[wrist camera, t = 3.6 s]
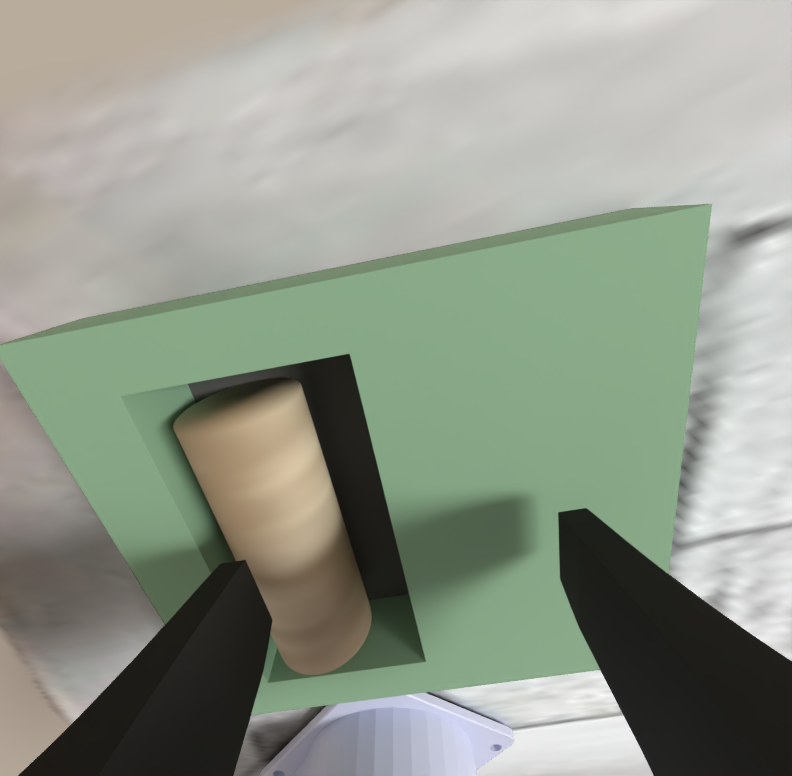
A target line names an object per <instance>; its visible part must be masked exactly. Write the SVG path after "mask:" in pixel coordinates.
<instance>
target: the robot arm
mask: <svg viewBox="0 0 792 776" xmlns="http://www.w3.org/2000/svg"><path fill="white" fill-rule="evenodd" d="M558 525H559V562H560V580H561V583H562V585H563V588H564V591H565V593H566V596H567V598H568V601H569V604H570V606H571V609H572V611H573V614H574V616H575V619H576V621H577V624H578V626H579V628H580V630H581V632H582V634H583V636H584V638H585V640H586V642H587V644H588V646H589V648H590V650H591V652H592V654H593V656H594V658H595V660H596V662H597V664H598V666H599V668H600V670H601V672H602V674H603V676H604V678H605V680H606V682H607V684H608V686H609V687H610V689H611V691H612V693H613V695H614V697H615V699H616V701H617V703H618V705H619V707H620V709H621V711H622V713H623V715H624V717H625V719H626V721H627V723H628V724H629V726H630V728H631V730H632V732H633V734H634V736H635V738H636V740H637V742H638V744H639V746H640V748H641V750H642V752H643V754H644V756H645V758H646V760H647V762H648V764H649V766H650V768H651V771H652V773H653V775H654V776H792V661H790V660H789V659H787V658H786V657H784V656H783V655H781V654H780V653H778V652H777V651H775V650H774V649H772V648H771V647H769V646H768V645H766V644H765V643H763V642H762V641H760V640H759V639H757V638H756V637H754V636H753V635H752V634H750V633H749V632H747V631H746V630H744V629H743V628H742V627H740V626H739V625H737V624H736V623H734V622H733V621H732V620H730V619H729V618H727V617H726V616H725V615H723V614H722V613H720V612H719V611H717V610H716V609H715V608H713V607H712V606H711V605H709V604H708V603H706V602H705V601H704V600H702V599H701V598H700V597H698V596H697V595H696V594H694V593H693V592H692V591H690V590H689V589H688V588H686V587H685V586H684V585H682V584H681V583H680V582H678V581H677V580H676V579H674V578H673V577H672V576H671V575H669V574H668V573H667V572H665V571H664V570H663V569H661V568H660V567H659V566H657V565H656V564H655V563H654V562H652V561H651V560H650V559H649V558H647V557H646V556H645V555H644V554H642V553H641V552H640V551H639V550H637V549H636V548H635V547H634V546H632V545H631V544H630V543H629V542H627V541H626V540H625V539H624V538H623V537H621V536H620V535H619V534H618V533H616V532H615V531H614V530H613V529H612V528H610V527H609V526H608V525H607V524H606V523H604V522H603V521H602V520H601V519H600V518H598V517H597V516H596V515H595V514H593V513H592V512H591V511H590V510H588V509H587V508H583V509H576V510H570V511H563V512H558ZM271 626H272V617H271V615H270V613H269V611H268V608H267V606H266V604H265V602H264V600H263V597H262V595H261V593H260V591H259V589H258V586H257V584H256V582H255V580H254V577H253V575H252V573H251V571H250V569H249V566H248V564H247V562H246V560H241V561H235V562H228V563H221V564H220V565H219V566H218V567H217V568H216V569H215V570H214V571H213V572H212V573H211V574H210V575H209V576H208V578H207V579H206V580H205V581H204V582H203V583H202V584H201V585H200V586H199V587H198V589H197V590H196V591H195V592H194V593H193V594H192V595H191V596H190V598H189V599H188V600H187V601H186V602H185V603H184V604H183V605H182V607H181V608H180V609H179V610H178V611H177V612H176V613H175V614H174V616H173V617H172V618H171V619H170V620H169V621H168V622H167V623H166V624H165V626H164V627H163V628H162V629H161V630H160V631H159V632H158V633H157V634H156V636H155V637H154V638H153V639H152V640H151V641H150V642H149V643H148V644H147V646H146V647H145V648H144V649H143V650H142V651H141V652H140V653H139V654H138V655H137V657H136V658H135V659H134V660H133V661H132V662H131V663H130V664H129V665H128V666H127V667H126V668H125V669H124V670H123V671H122V672H121V673H120V675H119V676H118V677H117V678H116V679H115V680H114V681H113V682H112V683H111V684H110V685H109V686H108V687H107V688H106V689H105V690H104V691H103V692H102V693H101V694H100V695H99V696H98V698H97V699H96V700H95V701H94V702H93V703H92V704H91V705H90V706H89V707H88V708H87V709H86V710H85V711H84V712H83V713H82V714H81V715H80V716H79V717H78V718H77V719H76V720H75V721H74V722H73V723H72V724H71V725H70V726H69V727H68V728H67V729H66V730H65V731H64V732H63V733H62V734H61V735H60V736H59V737H58V738H57V739H56V740H55V741H54V742H53V743H52V744H51V745H50V746H49V747H48V748H47V749H46V750H45V751H44V752H43V753H42V754H41V755H40V756H38V757H37V759H35V760H34V761H33V762H32V763H31V764H30V765H29V766H28V767H27V768H26V769H25V770H24V771H23V772H22V773H20V774H19V776H233V775H234V771H235V768H236V764H237V761H238V757H239V754H240V751H241V747H242V744H243V740H244V737H245V734H246V730H247V727H248V723H249V720H250V717H251V713H252V710H253V706H254V703H255V699H256V696H257V692H258V689H259V685H260V682H261V678H262V674H263V671H264V666H265V661H266V655H267V650H268V644H269V638H270V632H271ZM513 742H514V736H513V732H512V730H511V729H510V728H509V727H507V726H505V725H503V724H500V723H498V722H495V721H493V720H491V719H488V718H486V717H483V716H481V715H478V714H476V713H474V712H471V711H469V710H466V709H464V708H461V707H459V706H457V705H454V704H452V703H449V702H447V701H444V700H442V699H440V698H437V697H435V696H432V695H430V694H428V693H418V694H410V695H402V696H395V697H387V698H379V699H372V700H364V701H356V702H348V703H341V704H333V705H327V706H326V707H325V708H324V709H323V710H322V711H321V712H320V713H319V714H318V715H317V716H316V717H315V718H314V719H313V720H312V721H311V722H310V723H309V724H308V725H307V726H306V727H305V728H304V729H303V730H302V731H301V732H300V733H299V734H298V735H297V736H296V737H295V738H294V739H293V740H292V741H291V742H290V743H289V744H288V745H287V746H286V747H285V748H284V749H283V750H282V751H281V752H280V753H279V754H278V755H277V756H276V757H275V758H274V759H273V760H272V761H271V762H270V763H269V764H268V765H267V766H266V767H264V768H263V769H262V770H261V772H260V776H477V773H476V770H478V769H479V768H480V767H482V766H483V765H485V764H486V763H487V762H489V761H490V760H491V759H493V758H494V757H496V756H497V755H498V754H500V753H501V752H503V751H504V750H505V749H507V748H508V747H510V746H511V745H512V744H513Z"/></svg>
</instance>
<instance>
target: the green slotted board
mask: <svg viewBox="0 0 792 776" xmlns="http://www.w3.org/2000/svg"><path fill="white" fill-rule="evenodd" d="M711 207H712V204H702V205H684V206H665V207H647V208H631V209H626V210H621V211H616V212H611V213H606V214H601V215H596V216H591V217H586V218H581V219H576V220H572V221H567V222H562V223H557V224H552V225H547V226H542V227H537V228H532V229H527V230H522V231H517V232H512V233H507V234H502V235H497V236H492V237H487V238H482V239H477V240H472V241H467V242H462V243H457V244H452V245H447V246H442V247H437V248H432V249H427V250H422V251H417V252H412V253H407V254H402V255H397V256H392V257H387V258H382V259H377V260H372V261H367V262H362V263H357V264H352V265H347V266H342V267H337V268H332V269H327V270H322V271H317V272H312V273H307V274H302V275H297V276H292V277H287V278H282V279H277V280H272V281H267V282H262V283H257V284H252V285H247V286H242V287H237V288H232V289H227V290H222V291H217V292H212V293H207V294H202V295H197V296H192V297H187V298H182V299H177V300H172V301H167V302H162V303H157V304H152V305H147V306H142V307H137V308H132V309H127V310H122V311H117V312H112V313H107V314H102V315H97V316H92V317H87V318H83V319H79V320H76V321H73V322H70V323H67V324H63V325H60V326H57V327H54V328H51V329H48V330H44V331H41V332H38V333H35V334H32V335H29V336H25V337H22V338H19V339H16V340H13V341H9V342H6V343H3V344H0V360H1V361H2V363H3V365H4V366H5V368H6V369H7V371H8V373H9V374H10V376H11V377H12V379H13V381H14V382H15V384H16V385H17V387H18V389H19V390H20V392H21V393H22V395H23V397H24V398H25V400H26V402H27V403H28V405H29V406H30V408H31V410H32V411H33V413H34V414H35V416H36V418H37V419H38V421H39V422H40V424H41V426H42V427H43V429H44V430H45V432H46V434H47V435H48V437H49V439H50V440H51V442H52V443H53V445H54V447H55V448H56V450H57V451H58V453H59V455H60V456H61V458H62V459H63V461H64V463H65V464H66V466H67V468H68V469H69V471H70V472H71V474H72V476H73V477H74V479H75V480H76V482H77V484H78V485H79V487H80V488H81V490H82V492H83V493H84V495H85V496H86V498H87V500H88V501H89V503H90V505H91V506H92V508H93V509H94V511H95V513H96V514H97V516H98V517H99V519H100V521H101V522H102V524H103V525H104V527H105V529H106V530H107V532H108V533H109V535H110V537H111V538H112V540H113V542H114V543H115V545H116V546H117V548H118V550H119V551H120V553H121V554H122V556H123V558H124V559H125V561H126V562H127V564H128V566H129V567H130V569H131V570H132V572H133V574H134V575H135V577H136V579H137V580H138V582H139V583H140V585H141V587H142V588H143V590H144V591H145V593H146V595H147V596H148V598H149V599H150V601H151V603H152V604H153V606H154V607H155V609H156V611H157V612H158V614H159V616H160V617H161V619H162V620H163V622H164V624H166V623H167V622H168V621H169V620H170V619H171V618H172V617H173V616H174V614H175V613H176V612H177V611H178V610H179V609H180V608H181V607H182V605H183V604H184V603H185V602H186V601H187V600H188V599H189V598H190V596H191V595H192V594H193V593H194V592H195V591H196V590H197V589H198V587H199V586H200V585H201V584H202V583H203V582H204V581H205V580H206V579H207V578H208V576H209V575H210V574H211V573H212V572H213V571H214V570H215V569H216V568H217V567H218V566H219V565H220V564H221V563H228V562H235V561H236V560H235V558H234V555H233V553H232V551H231V549H230V547H229V545H228V543H227V541H226V539H225V536H224V534H223V532H222V530H221V528H220V526H219V524H218V522H217V520H216V517H215V515H214V513H213V511H212V509H211V507H210V505H209V503H208V501H207V498H206V496H205V494H204V492H203V490H202V488H201V486H200V484H199V482H198V480H197V477H196V475H195V473H194V471H193V469H192V467H191V465H190V463H189V461H188V458H187V456H186V454H185V452H184V450H183V448H182V446H181V444H180V442H179V439H178V437H177V435H176V433H175V431H174V428H173V425H174V422H175V420H176V419H177V418H178V417H179V416H180V415H181V414H182V413H183V412H184V411H185V410H187V409H188V408H189V407H191V406H192V405H194V404H196V403H197V402H199V401H201V400H203V399H205V398H207V397H209V396H211V395H213V394H215V393H218V392H220V391H223V390H225V389H228V388H231V387H234V386H237V385H240V384H244V383H248V382H252V381H257V380H262V379H268V378H291V379H295V380H297V381H299V382H300V383H301V385H302V388H303V392H304V395H305V398H306V401H307V404H308V408H309V411H310V414H311V417H312V421H313V424H314V427H315V430H316V433H317V437H318V440H319V443H320V446H321V449H322V453H323V456H324V459H325V462H326V466H327V469H328V472H329V475H330V478H331V482H332V485H333V488H334V491H335V494H336V498H337V501H338V504H339V507H340V510H341V514H342V517H343V520H344V523H345V527H346V530H347V533H348V536H349V539H350V543H351V546H352V549H353V552H354V555H355V559H356V562H357V565H358V568H359V572H360V575H361V578H362V581H363V584H364V588H365V591H366V594H367V597H368V600H369V604H370V607H371V614H372V618H371V626H370V630H369V633H368V635H367V637H366V640H365V641H364V643H363V645H362V646H361V648H360V649H359V650H358V652H357V653H356V654H355V655H354V656H353V657H352V658H351V659H350V660H349V661H347V662H346V663H345V664H343V665H342V666H340V667H338V668H337V669H335V670H332V671H330V672H327V673H324V674H319V675H304V674H300V673H297V672H295V671H293V670H292V669H291V668H289V667H288V666H287V665H286V663H285V662H284V660H283V659H282V657H281V655H280V653H279V650H278V648H277V646H276V644H275V642H274V640H273V638H272V636H271V634H270V638H269V644H268V650H267V655H266V661H265V666H264V671H263V674H262V678H261V682H260V685H259V689H258V692H257V696H256V699H255V703H254V706H253V710H252V713H251V715H256V714H264V713H272V712H279V711H287V710H295V709H302V708H310V707H318V706H325V705H333V704H341V703H348V702H356V701H364V700H372V699H379V698H387V697H395V696H402V695H410V694H418V693H425V692H433V691H441V690H448V689H456V688H464V687H472V686H479V685H487V684H495V683H502V682H510V681H518V680H525V679H533V678H541V677H548V676H556V675H564V674H572V673H579V672H587V671H595V670H600V668H599V666H598V664H597V662H596V660H595V658H594V656H593V654H592V652H591V650H590V648H589V646H588V644H587V642H586V640H585V638H584V636H583V634H582V632H581V630H580V628H579V626H578V624H577V621H576V619H575V616H574V614H573V611H572V609H571V606H570V604H569V601H568V598H567V596H566V593H565V591H564V588H563V585H562V583H561V580H560V562H559V525H558V512H563V511H570V510H576V509H583V508H587V509H588V510H590V511H591V512H592V513H593V514H595V515H596V516H597V517H598V518H600V519H601V520H602V521H603V522H604V523H606V524H607V525H608V526H609V527H610V528H612V529H613V530H614V531H615V532H616V533H618V534H619V535H620V536H621V537H623V538H624V539H625V540H626V541H627V542H629V543H630V544H631V545H632V546H634V547H635V548H636V549H637V550H639V551H640V552H641V553H642V554H644V555H645V556H646V557H647V558H649V559H650V560H651V561H652V562H654V563H655V564H656V565H657V566H659V567H660V568H661V569H663V570H664V571H665V572H667V573H669V565H670V556H671V548H672V539H673V531H674V522H675V514H676V505H677V497H678V488H679V479H680V471H681V462H682V454H683V445H684V437H685V428H686V420H687V411H688V403H689V394H690V386H691V377H692V369H693V360H694V352H695V343H696V335H697V326H698V318H699V309H700V301H701V292H702V284H703V275H704V267H705V258H706V250H707V241H708V233H709V224H710V216H711Z"/></svg>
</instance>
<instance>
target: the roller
mask: <svg viewBox="0 0 792 776" xmlns="http://www.w3.org/2000/svg"><path fill="white" fill-rule="evenodd" d="M173 428H174V431H175V433H176V435H177V437H178V439H179V442H180V444H181V446H182V448H183V450H184V452H185V454H186V456H187V458H188V461H189V463H190V465H191V467H192V469H193V471H194V473H195V475H196V477H197V480H198V482H199V484H200V486H201V488H202V490H203V492H204V494H205V496H206V498H207V501H208V503H209V505H210V507H211V509H212V511H213V513H214V515H215V517H216V520H217V522H218V524H219V526H220V528H221V530H222V532H223V534H224V536H225V539H226V541H227V543H228V545H229V547H230V549H231V551H232V553H233V555H234V558H235V560H236V561H241V560H246V562H247V564H248V566H249V569H250V571H251V573H252V575H253V577H254V580H255V582H256V584H257V586H258V589H259V591H260V593H261V595H262V597H263V600H264V602H265V604H266V606H267V608H268V611H269V613H270V615H271V617H272V626H271V632H270V634H271V636H272V638H273V640H274V642H275V644H276V646H277V648H278V650H279V653H280V655H281V657H282V659H283V660H284V662H285V663H286V665H287V666H288V667H289V668H291V669H292V670H293V671H295V672H297V673H300V674H304V675H319V674H324V673H327V672H330V671H332V670H335V669H337V668H338V667H340V666H342V665H343V664H345V663H346V662H347V661H349V660H350V659H351V658H352V657H353V656H354V655H355V654H356V653H357V652H358V650H359V649H360V648H361V646H362V645H363V643H364V641H365V640H366V637H367V635H368V633H369V630H370V626H371V618H372V614H371V607H370V604H369V600H368V597H367V594H366V591H365V588H364V584H363V581H362V578H361V575H360V572H359V568H358V565H357V562H356V559H355V555H354V552H353V549H352V546H351V543H350V539H349V536H348V533H347V530H346V527H345V523H344V520H343V517H342V514H341V510H340V507H339V504H338V501H337V498H336V494H335V491H334V488H333V485H332V482H331V478H330V475H329V472H328V469H327V466H326V462H325V459H324V456H323V453H322V449H321V446H320V443H319V440H318V437H317V433H316V430H315V427H314V424H313V421H312V417H311V414H310V411H309V408H308V404H307V401H306V398H305V395H304V392H303V388H302V385H301V383H300V382H299V381H297V380H295V379H291V378H268V379H262V380H257V381H252V382H248V383H244V384H240V385H237V386H234V387H231V388H228V389H225V390H223V391H220V392H218V393H215V394H213V395H211V396H209V397H207V398H205V399H203V400H201V401H199V402H197V403H196V404H194V405H192V406H191V407H189V408H188V409H187V410H185V411H184V412H183V413H182V414H181V415H180V416H179V417H178V418H177V419H176V420H175V422H174V425H173Z"/></svg>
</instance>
